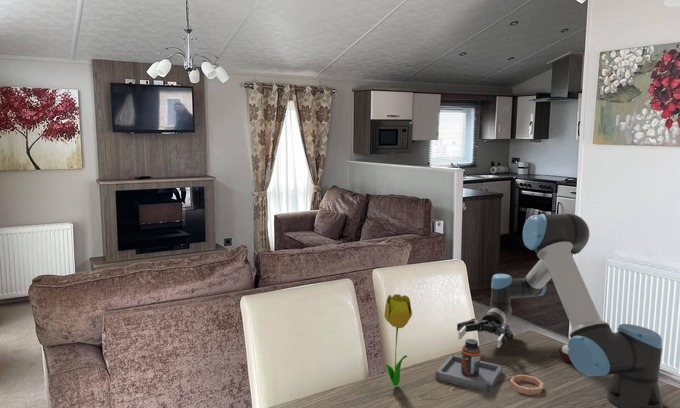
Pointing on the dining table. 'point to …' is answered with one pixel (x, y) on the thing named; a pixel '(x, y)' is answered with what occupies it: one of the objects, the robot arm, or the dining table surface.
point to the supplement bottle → (470, 358)
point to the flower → (397, 325)
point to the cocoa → (565, 353)
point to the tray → (482, 381)
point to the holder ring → (523, 389)
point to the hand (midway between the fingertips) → (478, 339)
